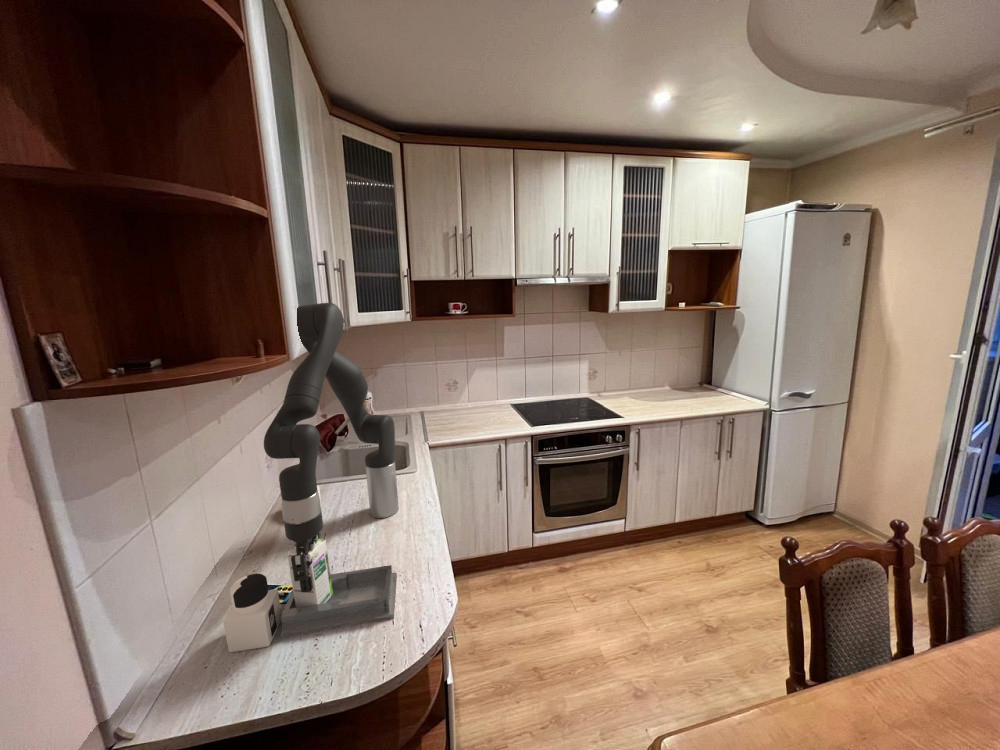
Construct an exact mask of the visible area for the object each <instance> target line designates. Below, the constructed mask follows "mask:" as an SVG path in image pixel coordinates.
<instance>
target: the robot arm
mask: <svg viewBox="0 0 1000 750" xmlns="http://www.w3.org/2000/svg"><path fill="white" fill-rule="evenodd" d="M297 307H298V308H297V326H298V332H299V336H300V339H301V342H302V343H301V342H300V343H301V344H303V345H302V346H303V347H304V349H306V351H307V352H308V354H307V356H306V357H305V358H304V359H303V361H301V363H300V364H299V365H298V366H297V368H296V369H294V371H293V373H292V374H291V376H290V378H289V381H288V384H287V387H286V392H285V396H284V400H283V403H282V406H281V407H280V409H279V410H278V412H277V413H276V415H275V417H274V418H273V420H272V422H271V423H270V425H269V426H268V428H267V430H266V432H265V434H264V439H263V448H264V449H263V450H264V452H265V454H266V456H268V457H270V458H271V459H276V460H280V459H298V460H299V463H297V464H294V465H291V466H288V467H285V468H284V469H282V470H281V471H280V473H279V476H278V481H279V488H280V497H281V512H282V520H283V526H284V534H285V538H286V539H288V540H289V541H292V542H294V546H293V548H294V552H295V555H293V556H292V557H291V562H292V568H293V574H294V580H295V582H296V581H300V587H301V592H303V593H304V592H310V591H312V588H313V586H312V578H311V568H310V565H311V564H312V563H313V557H312V559H311V561H310V562H309V561H306V555H307V554H308V553H309V551H313V550H314V549H315V542H316V541H318V538H319V539H322V538H321V531H322V530H323V529H324V521H323V513H322V503H321V504H320V498H321V496H320V497H319V494H318V490H317V485H318V483H317V476H316V474H317V461H318V455H319V450H320V445H321V433H320V432H319V430H318V428H317V427H316V426H314V425H313V424H310V423H305V424H304V423H302V424H298V423H300V422H302V421H305V420H308V419H311V418H313V417H315V416H316V414H317V412H318V409H319V406H320V401H321V395H322V391H323V385H324V383H325V379H326V380H327V383H328V385H329V386H330V388H331V389H332V391H333V393H334V395H335V396H336V397H337V399H338V401H339V402H340V403H341V405H342V407H343V410H344V411H345V413H346V415H347V416H348V419H349V422H350V423H351V426H352V428H353V430H354V433H355V435H356V436H357V438H358V440H359V441H360V442H361V443H364V444H373V445H374V444H375V445H378V449H376V450H373V451H370V452H369V453H367V454H366V455H365V456H364V457H365V458H364V464H365V473H366V483H367V495H368V502H369V506H368V507H369V513H370V514H369V515H370V516H371V517H373V518H376V519H384V518H388V517H392V516H393V515H395V514H396V513H398V511H399V508H400V507H399V498H398V497H399V496H398V494H399V493H398V484H397V473H396V472H397V471H396V462H395V461H396V459H395V455H396V433H395V432H396V431H395V430H396V429H395V421H394V419H393V417H392V416H391V415H386V414H370V413H369V412H368V411H367V409H366V407H365V401H366V399H367V396H368V391H369V384H368V382H367V380H366V377H365V376H364V374H363V372H362V370H361V368H360V367H359V366H358V365H357V364H356V363H355V362H354V361H353V360H351V359H350V358H348V357H347V356H346V355H344V354H342V353H341V352H339V351H338V350H337V348H338V346H339V343H340V340H341V339H342V336H343V333H344V332H343V331H344V327H345V324H344V323H345V321H344V316H343V313H342V311H341V309H340V307H339V306H338V305H336V304H335V303H332V302H321V303H312V304H311V303H310V304H304V305H300V306H297ZM301 571H303V572H301Z"/></svg>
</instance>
